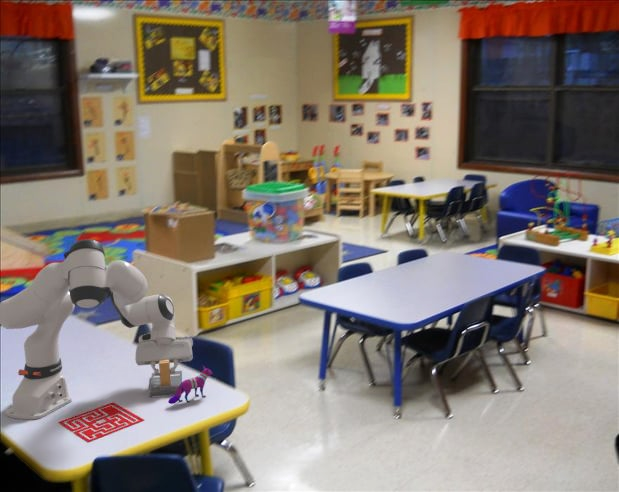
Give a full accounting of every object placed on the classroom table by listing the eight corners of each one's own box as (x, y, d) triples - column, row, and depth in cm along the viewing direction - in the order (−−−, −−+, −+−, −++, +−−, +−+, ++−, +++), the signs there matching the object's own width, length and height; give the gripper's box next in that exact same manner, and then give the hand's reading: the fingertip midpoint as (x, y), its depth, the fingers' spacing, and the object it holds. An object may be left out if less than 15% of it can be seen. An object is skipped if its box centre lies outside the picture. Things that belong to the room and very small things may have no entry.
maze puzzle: (58, 423, 237) (58, 421, 237) (113, 403, 251) (113, 402, 251) (88, 443, 223) (88, 441, 223) (144, 421, 237) (144, 419, 237)
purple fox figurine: (216, 393, 256) (215, 366, 253) (171, 409, 245) (169, 380, 242) (211, 390, 259) (209, 363, 256) (166, 405, 247) (163, 377, 245)
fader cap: (170, 386, 258) (168, 362, 256) (160, 387, 258) (158, 363, 256) (171, 382, 262) (169, 358, 260) (161, 383, 261) (159, 359, 259)
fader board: (181, 393, 256) (181, 386, 256) (150, 397, 255) (149, 389, 254) (182, 374, 274) (181, 366, 273) (152, 377, 272) (151, 369, 271)
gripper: (192, 339, 270) (194, 374, 262) (136, 344, 267) (136, 379, 259) (192, 332, 264) (194, 367, 257) (134, 337, 261) (135, 372, 254)
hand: (164, 373), depth 258 cm, fingers open, 4 cm apart
